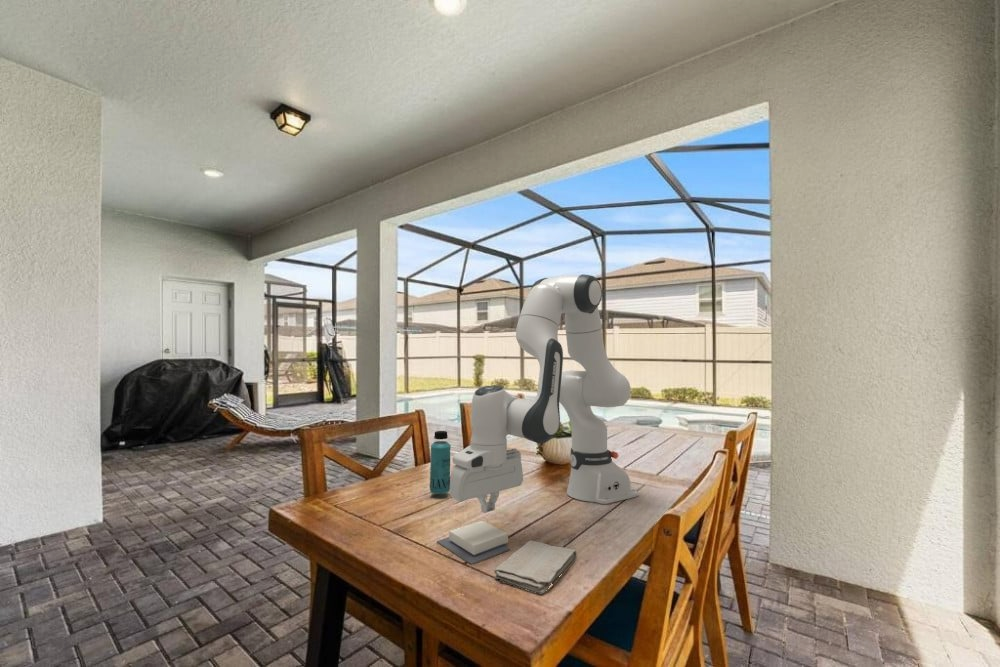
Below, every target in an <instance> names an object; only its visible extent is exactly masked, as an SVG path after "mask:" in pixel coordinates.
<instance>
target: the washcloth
mask: <svg viewBox="0 0 1000 667" xmlns="http://www.w3.org/2000/svg"><path fill="white" fill-rule="evenodd" d="M576 558H577V551H576V549H575V550H574V549H571V548H568V547H563V546H554V545H549V544H547V543H544V542H539V541H537V540H536V541H534V540H529V541H527V542H525V544H523V545H522V546H521V547H520V548H519V549H517V550H515V552H513V553H512V554H511V555H509V556H508V557H507V559H505V560H504V561H503V562H501V563H500V564H498V566H496V567H495V569H494V574H495V577H494V578H493V579H497V580H498V579H500V580H499V582H501V581H502V582H504V583H507V584H510V585H513V586H516V587H515V588H517V587H520V588H519V589H521V588H523V589H522V590H524V589H527V590H529V591H528V592H530V591H533V592H536V593H539V594H538V595H542V594H546V592H545V591H546V590H548V588H549V586H550V585H551V583H552V584H554V583H555V582H556V583H557V582H558V581H559V580H560V579H561V578H560V577H562V576H560V575H561V574H563V573H564V572H565V571H566V572H567V571H568V569H569V568H570V567H571V566H572V564H573V563H574V562H575V561H576ZM569 566H570V567H569ZM568 567H569V568H568ZM566 572H565V573H566ZM565 573H564V574H565ZM564 574H563V575H564ZM559 576H560V577H559ZM559 578H560V579H559ZM558 579H559V580H558ZM557 580H558V581H557ZM502 582H501V583H502ZM504 583H503V584H504ZM556 583H555V584H556ZM507 584H506V585H507ZM510 585H509V586H510ZM513 586H512V587H513ZM533 592H532V593H533ZM536 593H535V594H536Z"/></svg>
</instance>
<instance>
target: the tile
mask: <svg viewBox="0 0 1000 667" xmlns="http://www.w3.org/2000/svg"><path fill="white" fill-rule="evenodd" d="M448 537H449V540H451V542H453V543H454V544H456V545H457V546H459V547H461V548H462V549H464V550H465V551H467V552H469V553H470V554H472V555H473V556H475V555H478V554H481V553H483V552H486V551H489V550H492V549H494V548H497V547H500V546H502V545H504V546H506V544H507V543H509V533H508V532H505V531H504V530H501V529H500V528H498V527H496V526H494V525H492V524H490V523H488V522H486V521H485V520H479V521H477V522H474V523H473V522H472V523H470V524H466V525H463V526H461V527H458V528H454V529H450V530H448Z"/></svg>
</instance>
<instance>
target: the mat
mask: <svg viewBox="0 0 1000 667" xmlns="http://www.w3.org/2000/svg"><path fill="white" fill-rule="evenodd" d="M436 543H437V544H438V545H440V546H442V547H443V546H444V547H443V548H445V549H446V548H447V549H446V550H448V551H449V550H450V551H449V552H451V553H452V552H453V553H452V554H454V555H455V554H456V555H455V556H457V557H458V556H459V557H458V558H459V559H461V558H462V561H464V560H465V562H466V563H468V564H469V563H470V566H473V565H475V564H474V563H476V562H478V563H480V561H481V562H483V561H485V559H486V560H489V559H491V558H494V557H495V556H498V555H502V554H504V553H506V551H507V552H509V551H511V548H510V547H507V546H506V545H502V546H500V547H497V548H494V549H492V550H489V551H486V552H483V553H481V554H478V555H475V556H473V555H472V554H470V553H469V552H467V551H465V550H464V549H462V548H461V547H459V546H457V545H456V544H454V543H453V542H451V540H449V536H448V537H445V538H443V539H439V540H437V541H436ZM482 560H483V561H482ZM472 564H473V565H472ZM476 564H477V563H476Z"/></svg>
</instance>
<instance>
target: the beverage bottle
mask: <svg viewBox="0 0 1000 667" xmlns="http://www.w3.org/2000/svg"><path fill="white" fill-rule="evenodd" d="M433 437H434V438H433V439H435V440H438V441H435V442H433V443H432V444H431V445H430V468H429V470H430V471H429V475H430V476H429V492H430V493H431V494H435V495H444V494H447V493H450V477H451V448H452V447H451V444H450V443H449V441H446V440H447V439H448V431H446V430H437V431H434V436H433Z"/></svg>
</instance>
